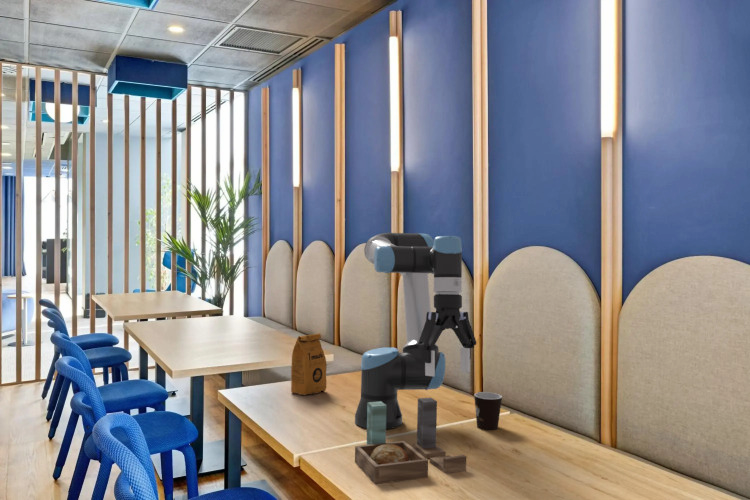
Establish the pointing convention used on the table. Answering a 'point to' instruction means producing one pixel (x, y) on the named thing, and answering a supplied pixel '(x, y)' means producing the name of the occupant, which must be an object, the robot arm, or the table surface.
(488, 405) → the coffee mug
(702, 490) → the table surface
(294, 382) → the coffee package
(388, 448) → the bread roll
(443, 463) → the strip
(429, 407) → the grey tall block
